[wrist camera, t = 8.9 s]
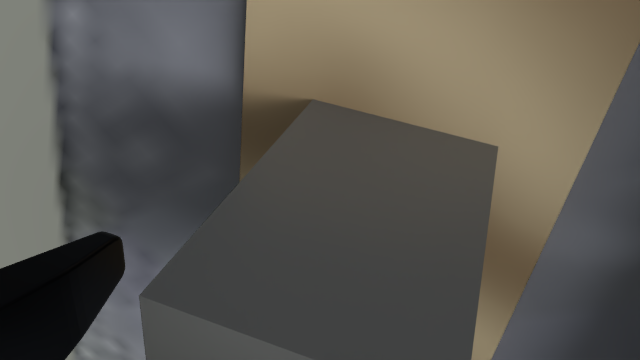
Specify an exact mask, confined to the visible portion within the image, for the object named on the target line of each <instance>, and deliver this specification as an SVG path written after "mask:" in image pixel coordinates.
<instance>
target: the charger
mask: <svg viewBox="0 0 640 360" xmlns="http://www.w3.org/2000/svg"><path fill="white" fill-rule="evenodd" d="M497 153H498V146H495V145H491V144H487V143H483V142H479V141H475V140H471V139H467V138H463V137H459V136H455V135H451V134H448V133H444V132H440V131H436V130H432V129H428V128H424V127H420V126H416V125H412V124H408V123H404V122H401V121H397V120H393V119H389V118H385V117H381V116H377V115H373V114H369V113H365V112H361V111H357V110H354V109H350V108H346V107H342V106H338V105H334V104H330V103H326V102H322V101H318V100H314V99H313V100H312V101H311V102H310V103H309V104H308V106H307V107H306V108H305V109H304V110H303V111H302V112H301V114H300V115H299V116H298V117H297V118H296V119H295V120H294V121H293V123H292V124H291V125H290V126H289V127H288V128H287V129H286V130H285V132H284V133H283V134H282V135H281V136H280V137H279V138H278V139H277V141H276V142H275V143H274V144H273V145H272V146H271V147H270V148H269V150H268V151H267V152H266V153H265V154H264V155H263V156H262V158H261V159H260V160H259V161H258V162H257V163H256V164H255V165H254V167H253V168H252V169H251V170H250V171H249V172H248V173H247V174H246V176H245V177H244V178H243V179H242V180H241V181H240V182H239V183H238V185H237V186H236V187H235V188H234V189H233V190H232V191H231V193H230V194H229V195H228V196H227V197H226V198H225V199H224V200H223V202H222V203H221V204H220V205H219V206H218V207H217V208H216V209H215V211H214V212H213V213H212V214H211V215H210V216H209V217H208V218H207V220H206V221H205V222H204V223H203V224H202V225H201V226H200V227H199V229H198V230H197V231H196V232H195V233H194V234H193V235H192V237H191V238H190V239H189V240H188V241H187V242H186V243H185V244H184V246H183V247H182V248H181V249H180V250H179V251H178V252H177V253H176V255H175V256H174V257H173V258H172V259H171V260H170V261H169V262H168V264H167V265H166V266H165V267H164V268H163V269H162V270H161V271H160V273H159V274H158V275H157V276H156V277H155V278H154V279H153V281H152V282H151V283H150V284H149V285H148V286H147V287H146V288H145V290H144V291H143V292H142V293H141V294H140V295H139V300H140V309H141V318H142V327H143V337H144V346H145V355H146V360H471V358H472V350H473V342H474V334H475V326H476V318H477V311H478V303H479V295H480V287H481V279H482V271H483V263H484V256H485V248H486V240H487V232H488V224H489V216H490V208H491V201H492V193H493V185H494V177H495V169H496V161H497Z"/></svg>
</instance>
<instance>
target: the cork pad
mask: <svg viewBox="0 0 640 360" xmlns="http://www.w3.org/2000/svg"><path fill="white" fill-rule="evenodd" d="M639 42H640V0H247V9H246V33H245V58H244V82H243V107H242V131H241V156H240V180H239V182H240V181H241V180H242V179H243V178H244V177H245V176H246V174H247V173H248V172H249V171H250V170H251V169H252V168H253V167H254V165H255V164H256V163H257V162H258V161H259V160H260V159H261V158H262V156H263V155H264V154H265V153H266V152H267V151H268V150H269V148H270V147H271V146H272V145H273V144H274V143H275V142H276V141H277V139H278V138H279V137H280V136H281V135H282V134H283V133H284V132H285V130H286V129H287V128H288V127H289V126H290V125H291V124H292V123H293V121H294V120H295V119H296V118H297V117H298V116H299V115H300V114H301V112H302V111H303V110H304V109H305V108H306V107H307V106H308V104H309V103H310V102H311V101H312V100H313V99H314V100H318V101H322V102H326V103H330V104H334V105H338V106H342V107H346V108H350V109H354V110H357V111H361V112H365V113H369V114H373V115H377V116H381V117H385V118H389V119H393V120H397V121H401V122H404V123H408V124H412V125H416V126H420V127H424V128H428V129H432V130H436V131H440V132H444V133H448V134H451V135H455V136H459V137H463V138H467V139H471V140H475V141H479V142H483V143H487V144H491V145H495V146H498V153H497V161H496V169H495V177H494V185H493V193H492V201H491V208H490V216H489V224H488V232H487V240H486V248H485V256H484V263H483V271H482V279H481V287H480V295H479V303H478V311H477V318H476V326H475V334H474V342H473V350H472V358H471V360H491V359H492V357H493V354H494V352H495V350H496V348H497V346H498V344H499V342H500V340H501V337H502V335H503V333H504V331H505V329H506V327H507V325H508V322H509V320H510V318H511V316H512V314H513V312H514V310H515V307H516V305H517V303H518V301H519V299H520V297H521V295H522V292H523V290H524V288H525V286H526V284H527V282H528V280H529V278H530V275H531V273H532V271H533V269H534V267H535V265H536V263H537V260H538V258H539V256H540V254H541V252H542V250H543V248H544V245H545V243H546V241H547V239H548V237H549V235H550V233H551V230H552V228H553V226H554V224H555V222H556V220H557V218H558V216H559V213H560V211H561V209H562V207H563V205H564V203H565V201H566V198H567V196H568V194H569V192H570V190H571V188H572V186H573V183H574V181H575V179H576V177H577V175H578V173H579V171H580V168H581V166H582V164H583V162H584V160H585V158H586V156H587V154H588V151H589V149H590V147H591V145H592V143H593V141H594V139H595V136H596V134H597V132H598V130H599V128H600V126H601V124H602V121H603V119H604V117H605V115H606V113H607V111H608V109H609V106H610V104H611V102H612V100H613V98H614V96H615V94H616V92H617V89H618V87H619V85H620V83H621V81H622V79H623V77H624V74H625V72H626V70H627V68H628V66H629V64H630V62H631V59H632V57H633V55H634V53H635V51H636V49H637V47H638V45H639Z"/></svg>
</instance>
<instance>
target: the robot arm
mask: <svg viewBox="0 0 640 360" xmlns="http://www.w3.org/2000/svg"><path fill="white" fill-rule="evenodd" d="M124 270H125V260H124V252H123V243H122V240H121V238H120V237H118V236H116V235H113V234H110V233H107V232H97V233H95V234H92V235H89V236H87V237H84V238H81V239H79V240H76V241H73V242H71V243H68V244H65V245H63V246H60V247H57V248H55V249H52V250H49V251H47V252H44V253H41V254H38V255H36V256H33V257H30V258H28V259H25V260H23V261H20V262H17V263H15V264H12V265H9V266H6V267H4V268H1V269H0V360H65V359H66V358H67V356H68V355H69V354H70V353H71V351H72V350H73V349H74V348H75V346H76V345H77V344H78V343H79V341H80V340H81V339H82V337H83V336H84V334H85V333H86V331H87V330H88V329H89V327H90V325H91V324H92V322H93V321H94V319H95V318H96V316H97V315H98V313H99V312H100V310H101V309H102V307H103V306H104V304H105V302H106V301H107V299H108V298H109V296H110V295H111V293H112V292H113V290H114V289H115V287H116V286H117V284H118V282H119V281H120V279H121V278H122V276H123V274H124Z"/></svg>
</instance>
